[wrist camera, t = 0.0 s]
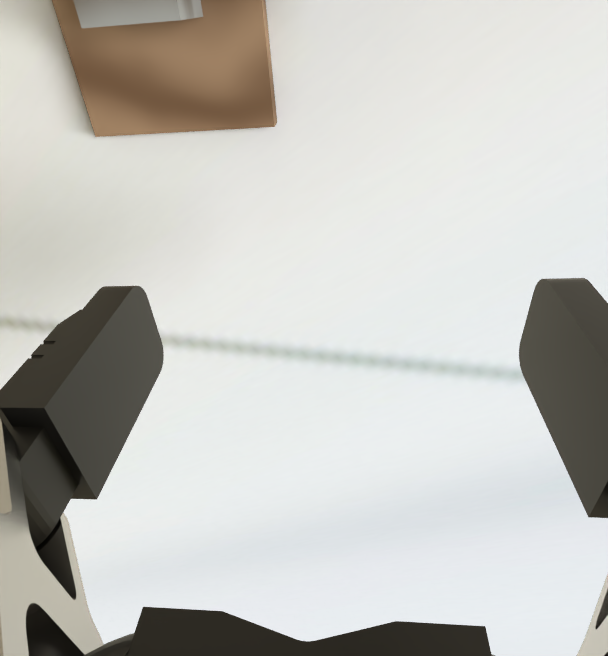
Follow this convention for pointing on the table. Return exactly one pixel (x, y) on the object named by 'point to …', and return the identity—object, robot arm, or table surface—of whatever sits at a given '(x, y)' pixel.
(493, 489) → the table surface
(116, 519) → the table surface
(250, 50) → the brown board
